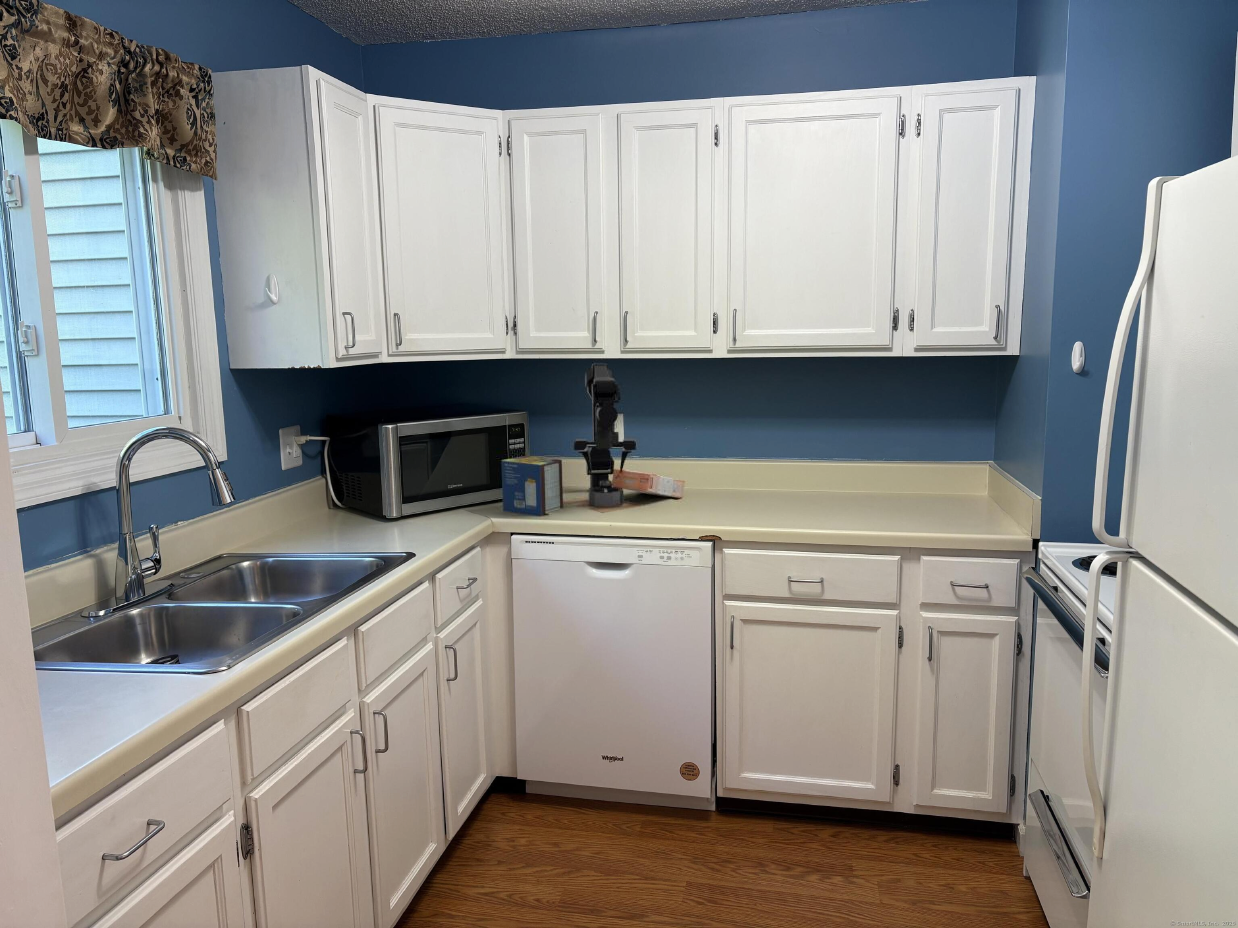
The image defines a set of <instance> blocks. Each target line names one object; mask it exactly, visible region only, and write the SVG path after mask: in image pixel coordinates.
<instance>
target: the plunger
mask: <svg viewBox="0 0 1238 928" xmlns="http://www.w3.org/2000/svg"><path fill="white" fill-rule="evenodd" d="M611 487H612V480H610V479H609V480H602V481H600V488H604V492H607V488H611Z"/></svg>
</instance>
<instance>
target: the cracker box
mask: <svg viewBox="0 0 1238 928" xmlns="http://www.w3.org/2000/svg"><path fill="white" fill-rule="evenodd" d="M611 481H612V487H617V488H622V489H623V490H629V491H633V492H639V493H645V494H650V495H656V496H663V497H671V498H680V499H682V498H683V495H684V487H685V482H686V481H685V480H681V479H677V478H676V479H675V478H671V477H667V476H661V475H658V474H653V473H649V472H641V471H634V470H627V469H626V470H625V469H622V473H620V469H618V468H617V469H615V468H614V472H613V474H612V480H611Z"/></svg>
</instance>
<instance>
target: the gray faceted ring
mask: <svg viewBox="0 0 1238 928" xmlns="http://www.w3.org/2000/svg"><path fill="white" fill-rule="evenodd" d="M587 490H588V492H587V493H588V494H587V495H588V496H587V497H588V498H589V506H592V507H597V508H614V507H620V506H622V505H623V500H624V489H622V488H617V487H611V488H607V492H604V488H600V487H597V488H594V487H591V488H590V487H589V489H587Z"/></svg>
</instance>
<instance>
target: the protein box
mask: <svg viewBox="0 0 1238 928" xmlns="http://www.w3.org/2000/svg"><path fill="white" fill-rule="evenodd" d="M500 462H501V480H502V481H501V483H502V485H501V486H502V488H501V489H502V511H504V512H510V513H516V514H523V515H529V516H530V515H531V516H536V517H544V516H547V515H549V513H550V512H553V511H557V510H561V509H563V508H564V502H563V501H564V495H563V493H564V491H563V488H564V487H563V461H562V459H560V458H559V459H558V458H547V457H546V458H545V457H534V456H527V455H526V456H525V455H523V456H517V457H512V458H507V459H502V460H501V461H500Z"/></svg>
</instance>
